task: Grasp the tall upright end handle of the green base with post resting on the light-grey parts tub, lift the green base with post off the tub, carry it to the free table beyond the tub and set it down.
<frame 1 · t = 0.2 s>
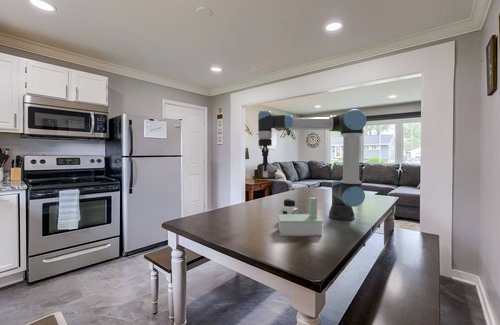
hand: (265, 176, 140), 28 cm above the table, fingers open, 13 cm apart
green base with post: (299, 219, 125), point 7 cm above the table, touching tub
tub: (299, 232, 125), on the table
container: (289, 221, 146), on the table
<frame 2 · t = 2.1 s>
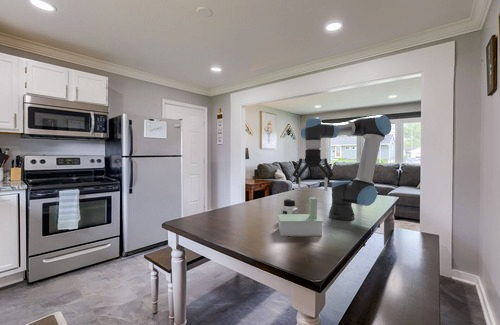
hand: (312, 190, 124), 22 cm above the table, fingers open, 13 cm apart
nothing on the table moved.
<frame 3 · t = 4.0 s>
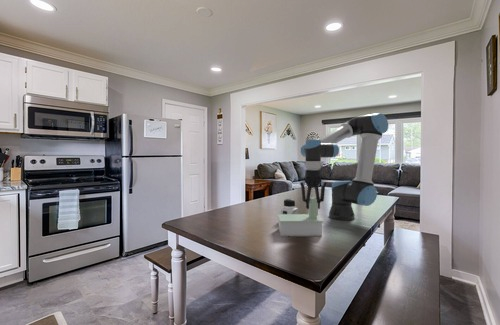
hand: (312, 215, 125), 9 cm above the table, fingers closed on green base with post, 3 cm apart
green base with post: (299, 219, 125), point 7 cm above the table, touching gripper, tub
everything else where it was.
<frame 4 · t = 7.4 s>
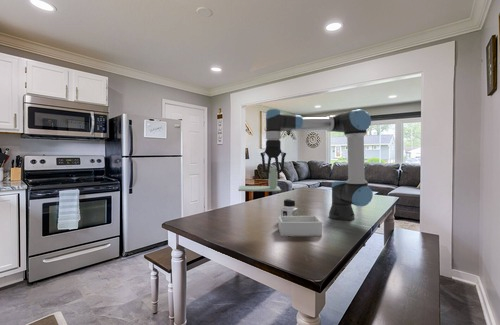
hand: (272, 185, 126), 24 cm above the table, fingers closed on green base with post, 3 cm apart
green base with post: (259, 189, 126), point 22 cm above the table, touching gripper
everything else where it was.
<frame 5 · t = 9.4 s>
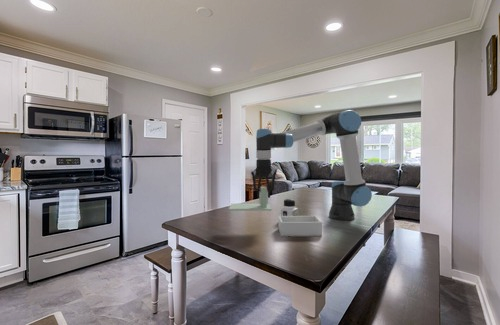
hand: (263, 203, 127), 15 cm above the table, fingers closed on green base with post, 3 cm apart
green base with post: (250, 207, 127), point 13 cm above the table, touching gripper
everything else where it was.
when the fingers open (4 cm above the table, at t = 11.1 s): green base with post drops 2 cm, on the table.
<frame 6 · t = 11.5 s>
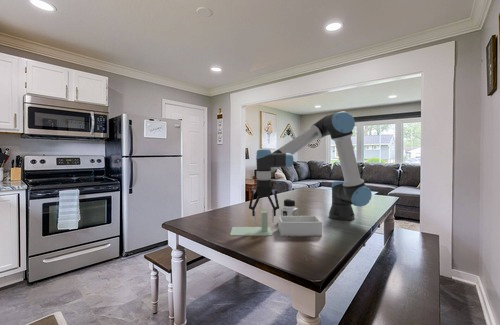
hand: (264, 222, 128), 5 cm above the table, fingers open, 8 cm apart
green base with post: (251, 232, 128), on the table
everything else where it was.
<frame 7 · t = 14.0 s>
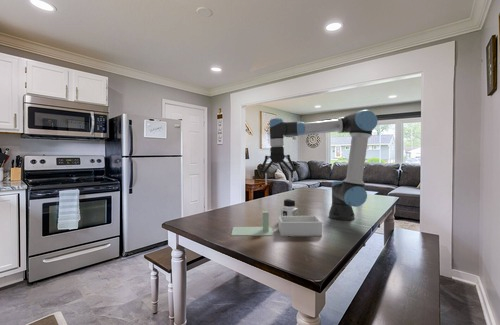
hand: (278, 184, 137), 23 cm above the table, fingers open, 13 cm apart
nothing on the table moved.
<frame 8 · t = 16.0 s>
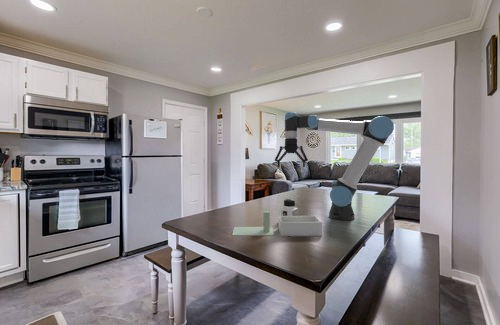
hand: (291, 172, 151), 29 cm above the table, fingers open, 13 cm apart
at the end: green base with post inside the target area (1.8 cm from its centre), on the table; green base with post touching table; the gripper is holding nothing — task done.
